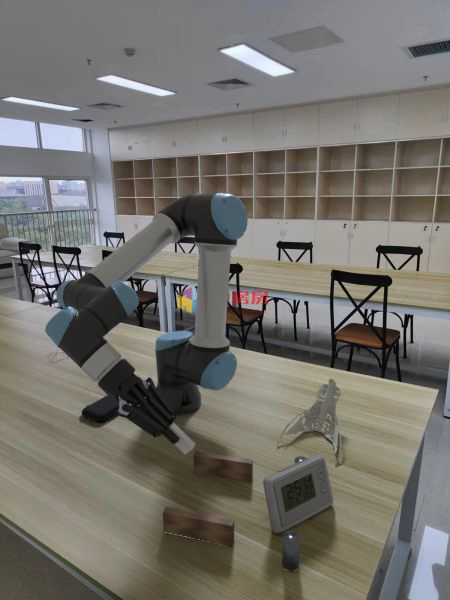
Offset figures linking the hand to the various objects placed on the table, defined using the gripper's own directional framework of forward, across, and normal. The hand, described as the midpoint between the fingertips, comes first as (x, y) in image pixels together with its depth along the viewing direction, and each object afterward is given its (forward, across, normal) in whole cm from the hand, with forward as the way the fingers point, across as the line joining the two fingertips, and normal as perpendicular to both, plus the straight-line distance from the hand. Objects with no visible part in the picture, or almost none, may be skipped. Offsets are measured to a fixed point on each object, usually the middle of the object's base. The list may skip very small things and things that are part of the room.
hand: (190, 449), depth 86 cm
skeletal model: (+29, -33, +8) cm, 44 cm away
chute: (+12, 0, -6) cm, 14 cm away
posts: (+25, 0, +6) cm, 26 cm away
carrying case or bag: (-17, -31, -37) cm, 51 cm away
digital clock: (+26, -2, +6) cm, 26 cm away
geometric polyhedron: (-45, -72, -66) cm, 107 cm away
